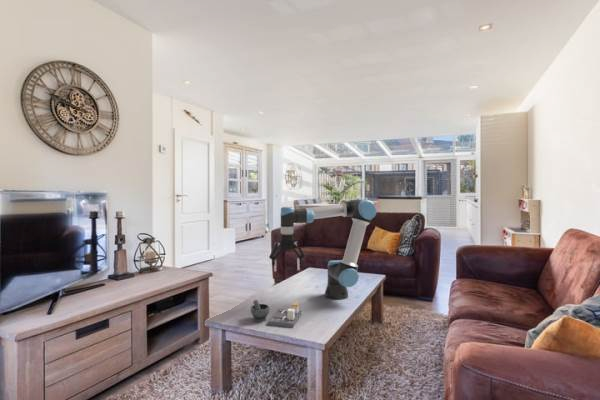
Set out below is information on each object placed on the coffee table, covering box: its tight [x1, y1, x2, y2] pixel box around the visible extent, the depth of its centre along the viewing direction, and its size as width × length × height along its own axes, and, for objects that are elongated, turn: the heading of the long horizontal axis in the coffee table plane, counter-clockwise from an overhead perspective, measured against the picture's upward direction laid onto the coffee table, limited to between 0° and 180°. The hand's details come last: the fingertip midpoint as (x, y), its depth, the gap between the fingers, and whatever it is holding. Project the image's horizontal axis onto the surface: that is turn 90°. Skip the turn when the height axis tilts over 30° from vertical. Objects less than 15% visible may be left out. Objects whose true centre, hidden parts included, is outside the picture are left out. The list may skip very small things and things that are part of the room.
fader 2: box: [291, 302, 300, 314], centre depth 172 cm, size 3×3×5 cm
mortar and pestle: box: [250, 299, 270, 323], centre depth 166 cm, size 11×9×12 cm
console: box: [268, 308, 302, 328], centre depth 168 cm, size 13×18×2 cm
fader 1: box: [287, 308, 295, 320], centre depth 163 cm, size 3×3×5 cm
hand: (286, 270), depth 184 cm, fingers open, 13 cm apart
